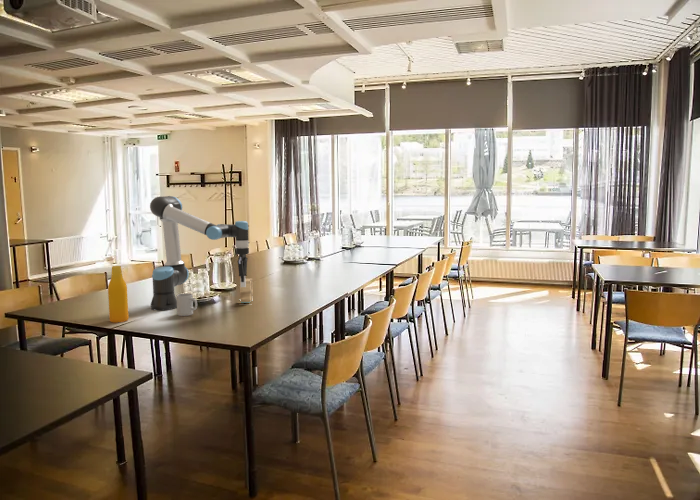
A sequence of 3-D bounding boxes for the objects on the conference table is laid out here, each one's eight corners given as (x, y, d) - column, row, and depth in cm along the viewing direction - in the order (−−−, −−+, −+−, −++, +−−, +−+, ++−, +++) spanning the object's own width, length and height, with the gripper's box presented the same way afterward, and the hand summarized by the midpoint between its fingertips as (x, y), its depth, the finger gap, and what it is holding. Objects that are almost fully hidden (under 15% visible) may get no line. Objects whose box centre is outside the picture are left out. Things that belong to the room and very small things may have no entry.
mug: (173, 315, 285) (173, 295, 284) (183, 311, 293) (182, 292, 292) (192, 317, 281) (191, 297, 280) (201, 313, 289) (201, 294, 288)
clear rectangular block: (250, 303, 312) (249, 280, 310) (240, 303, 312) (240, 280, 311) (252, 301, 318) (252, 278, 316) (243, 301, 318) (242, 278, 317)
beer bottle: (127, 322, 271) (124, 267, 267) (108, 323, 268) (105, 268, 264) (129, 317, 279) (127, 264, 276) (111, 319, 277) (108, 265, 273)
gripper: (245, 248, 297) (246, 289, 300) (251, 246, 310) (252, 285, 313) (232, 248, 298) (233, 288, 301) (239, 246, 311) (240, 284, 314)
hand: (243, 286), depth 307 cm, fingers closed
